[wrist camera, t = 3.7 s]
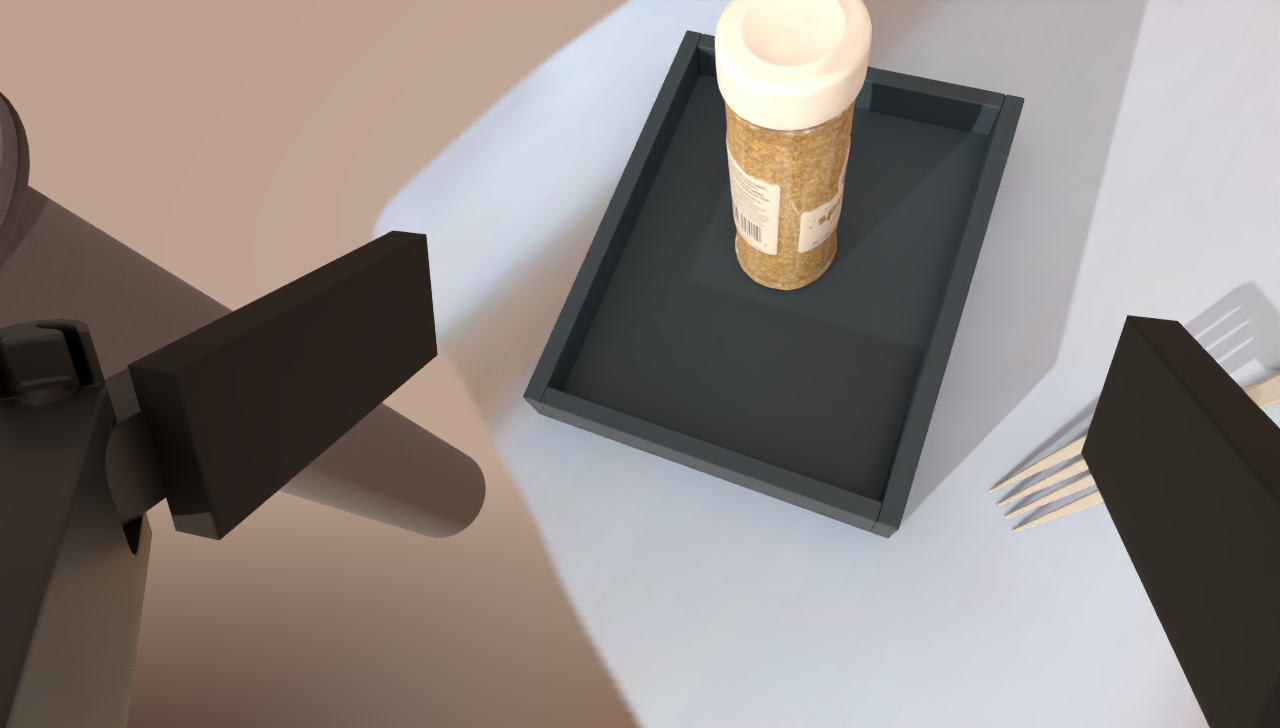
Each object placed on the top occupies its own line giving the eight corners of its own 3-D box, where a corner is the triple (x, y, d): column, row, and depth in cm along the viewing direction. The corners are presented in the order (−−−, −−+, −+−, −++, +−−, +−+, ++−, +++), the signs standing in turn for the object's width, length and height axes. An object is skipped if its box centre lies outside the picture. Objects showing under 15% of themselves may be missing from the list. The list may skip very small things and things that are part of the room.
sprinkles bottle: (847, 281, 34) (893, 69, 21) (744, 302, 34) (729, 107, 22) (822, 193, 35) (851, -53, 23) (724, 214, 36) (700, -15, 23)
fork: (1467, 346, 32) (1536, 317, 29) (1021, 545, 30) (1053, 532, 27) (1416, 290, 33) (1478, 257, 30) (981, 478, 31) (1009, 460, 28)
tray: (539, 413, 34) (522, 397, 32) (691, 65, 40) (686, 29, 37) (888, 538, 30) (898, 530, 28) (1008, 133, 35) (1025, 97, 33)
